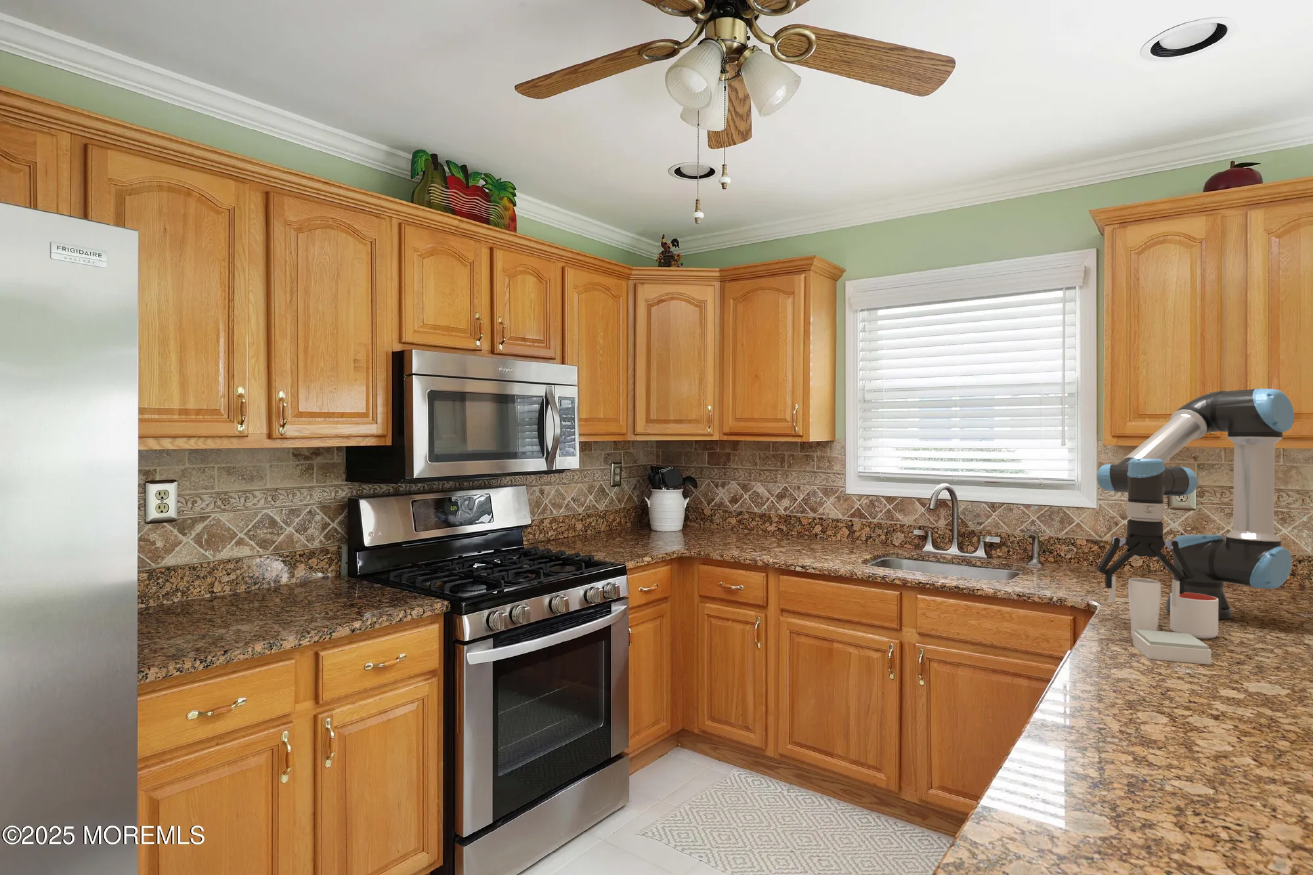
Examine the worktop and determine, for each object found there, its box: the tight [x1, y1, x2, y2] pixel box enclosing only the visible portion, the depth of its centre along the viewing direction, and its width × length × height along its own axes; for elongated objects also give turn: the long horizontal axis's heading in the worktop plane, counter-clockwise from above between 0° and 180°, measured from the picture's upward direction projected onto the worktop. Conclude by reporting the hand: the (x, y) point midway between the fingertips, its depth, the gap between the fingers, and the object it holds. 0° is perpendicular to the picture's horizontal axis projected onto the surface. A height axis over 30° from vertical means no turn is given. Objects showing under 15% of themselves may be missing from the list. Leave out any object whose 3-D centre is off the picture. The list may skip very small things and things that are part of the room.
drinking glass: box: [1127, 577, 1162, 639], centre depth 179 cm, size 7×7×15 cm
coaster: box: [1132, 629, 1212, 666], centre depth 167 cm, size 12×12×4 cm
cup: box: [1169, 592, 1219, 640], centre depth 185 cm, size 10×10×10 cm
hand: (1143, 604), depth 179 cm, fingers open, 13 cm apart
